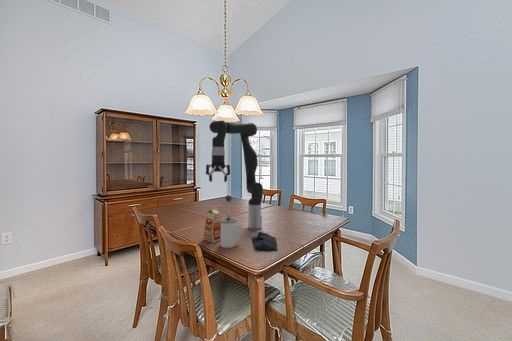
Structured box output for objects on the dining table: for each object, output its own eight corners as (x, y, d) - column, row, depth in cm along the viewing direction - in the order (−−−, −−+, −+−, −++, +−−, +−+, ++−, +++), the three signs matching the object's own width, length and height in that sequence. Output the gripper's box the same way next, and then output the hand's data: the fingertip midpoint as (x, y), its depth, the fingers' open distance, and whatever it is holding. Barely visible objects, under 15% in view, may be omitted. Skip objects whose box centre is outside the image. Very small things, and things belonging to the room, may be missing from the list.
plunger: (231, 222, 141) (231, 194, 140) (231, 223, 137) (232, 195, 136) (224, 222, 140) (225, 194, 139) (225, 224, 136) (225, 195, 136)
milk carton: (213, 242, 143) (213, 209, 142) (202, 239, 148) (202, 207, 147) (223, 238, 151) (223, 206, 149) (212, 235, 155) (212, 205, 154)
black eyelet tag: (250, 251, 131) (251, 243, 131) (252, 238, 153) (252, 230, 153) (278, 252, 131) (279, 243, 131) (276, 238, 153) (276, 231, 153)
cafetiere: (239, 241, 146) (239, 217, 145) (242, 246, 137) (242, 221, 136) (219, 242, 143) (219, 217, 142) (221, 248, 134) (221, 222, 133)
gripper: (231, 155, 146) (230, 181, 147) (208, 154, 147) (208, 181, 147) (229, 154, 138) (228, 182, 139) (204, 154, 139) (204, 182, 140)
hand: (218, 181), depth 143 cm, fingers open, 8 cm apart
